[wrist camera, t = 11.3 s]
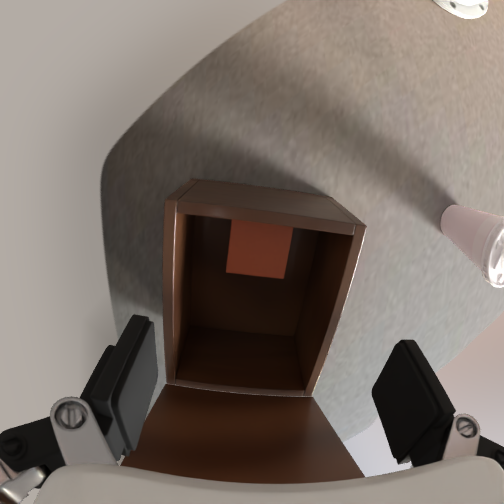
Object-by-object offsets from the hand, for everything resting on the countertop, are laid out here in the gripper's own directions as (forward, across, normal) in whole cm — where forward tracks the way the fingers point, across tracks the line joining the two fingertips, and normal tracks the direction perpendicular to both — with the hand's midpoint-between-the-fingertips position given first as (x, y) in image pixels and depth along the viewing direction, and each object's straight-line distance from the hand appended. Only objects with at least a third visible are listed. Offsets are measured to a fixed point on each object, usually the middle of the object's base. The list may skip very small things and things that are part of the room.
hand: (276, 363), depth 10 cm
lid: (+1, 0, +8) cm, 9 cm away
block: (+17, 0, +1) cm, 17 cm away
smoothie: (+18, -21, -3) cm, 28 cm away
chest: (+18, 0, +5) cm, 18 cm away
